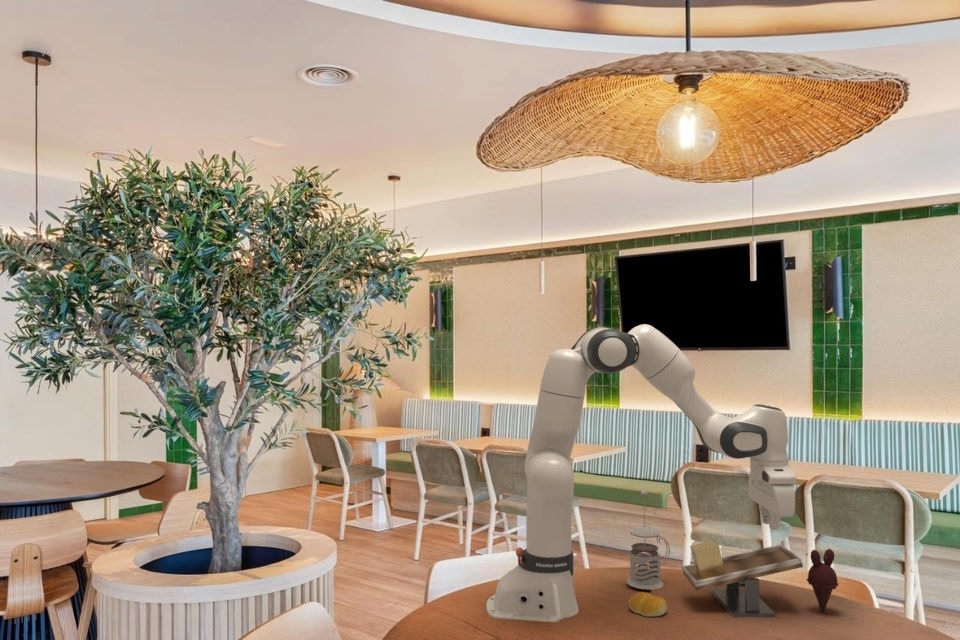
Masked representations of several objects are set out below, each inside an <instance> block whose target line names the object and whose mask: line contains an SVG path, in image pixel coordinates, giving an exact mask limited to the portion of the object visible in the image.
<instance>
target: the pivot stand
mask: <svg viewBox="0 0 960 640" xmlns="http://www.w3.org/2000/svg"><path fill="white" fill-rule="evenodd" d="M711 594H712V596H713V597H714V598H715V599H716V600H717V602H718V603H719V604H720V605H721V606H722V607H723V608H724V610H726V612H727V613H728V614H729V615H730V616H731V617H733V618H776V616H777V615H776V612H775V611H774V610H773V609H772V608H771V607H769V605H767V603H766V602H764V601H763V599H762V598H760V578H759V577H757V578H745V583H744V588H740V582H734V583H730V584H725V588H711Z"/></svg>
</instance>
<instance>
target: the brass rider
mask: <svg viewBox="0 0 960 640" xmlns="http://www.w3.org/2000/svg"><path fill="white" fill-rule="evenodd" d="M689 547H690V550H691V555H692V559H693V564H694V565H695V569H696V573H697V574H698V576H699V577H700V578H701V579H703V578H708V577H712V576H717V575H721V574H725V570H724V566H723V562H722V553H721V550H720V549H721V548H720V546H719V544H717V543H716V542H715V541H714V540H710V541H707V542H703V543H702V542H701V543H697V544H693V545H690V546H689Z"/></svg>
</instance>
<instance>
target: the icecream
mask: <svg viewBox="0 0 960 640" xmlns="http://www.w3.org/2000/svg"><path fill="white" fill-rule="evenodd" d="M822 558H823V559H822V560H823V562H822V560H821V556H820V553H819V551H818V550H816V549H812V550H811V552H810V560H811V563H812V565H811V567H810V568H809V570H808V574H807V578H806V582H808V585H811V587H812V590H813V592H814V595H815V597H816V600H817V604H818V607H819V609H820V611H821V612H823V613H824V612H825V610H826V607H827V605H828V602H829V600H830V597H831V595H832V592H833V590H836V589H837V587H838V586H839V583H838V576H837V573H836V571H835V569H834V568H833V567H832V564H833V561H834V560H835V553H834V550H832V549H831V548H828V549H826V550H825V551H824V554H823V557H822Z"/></svg>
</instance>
